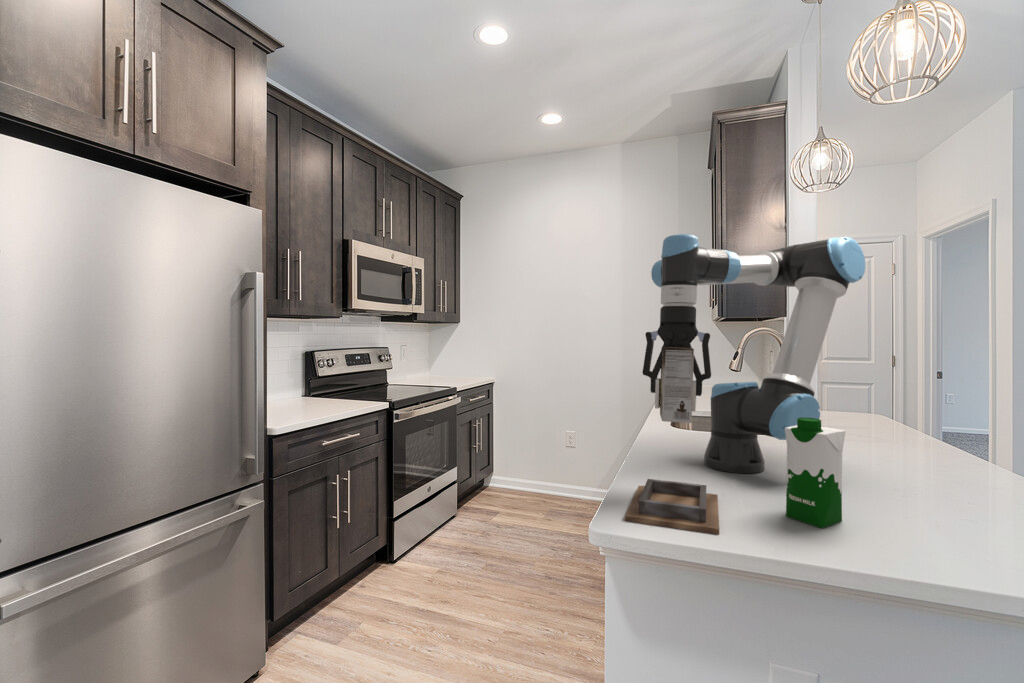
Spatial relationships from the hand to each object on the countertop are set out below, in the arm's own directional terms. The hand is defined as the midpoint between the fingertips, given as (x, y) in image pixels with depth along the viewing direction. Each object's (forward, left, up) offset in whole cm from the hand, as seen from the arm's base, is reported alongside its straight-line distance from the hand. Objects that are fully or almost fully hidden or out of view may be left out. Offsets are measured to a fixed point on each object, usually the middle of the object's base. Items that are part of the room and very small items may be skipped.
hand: (675, 408), depth 108 cm
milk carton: (-26, +3, -20) cm, 33 cm away
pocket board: (0, +8, -20) cm, 21 cm away
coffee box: (0, 0, -2) cm, 2 cm away
